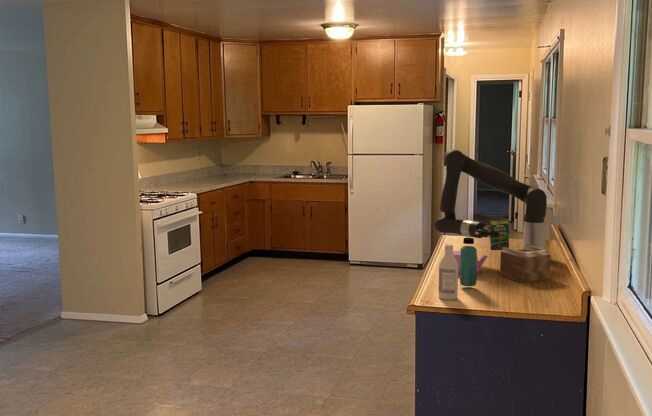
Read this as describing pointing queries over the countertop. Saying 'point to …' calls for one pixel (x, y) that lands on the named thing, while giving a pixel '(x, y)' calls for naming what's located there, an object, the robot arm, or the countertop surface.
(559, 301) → the countertop surface
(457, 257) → the teapot
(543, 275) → the walnut stand
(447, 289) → the bath foam
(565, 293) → the countertop surface
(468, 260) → the beverage bottle
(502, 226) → the coffee box
